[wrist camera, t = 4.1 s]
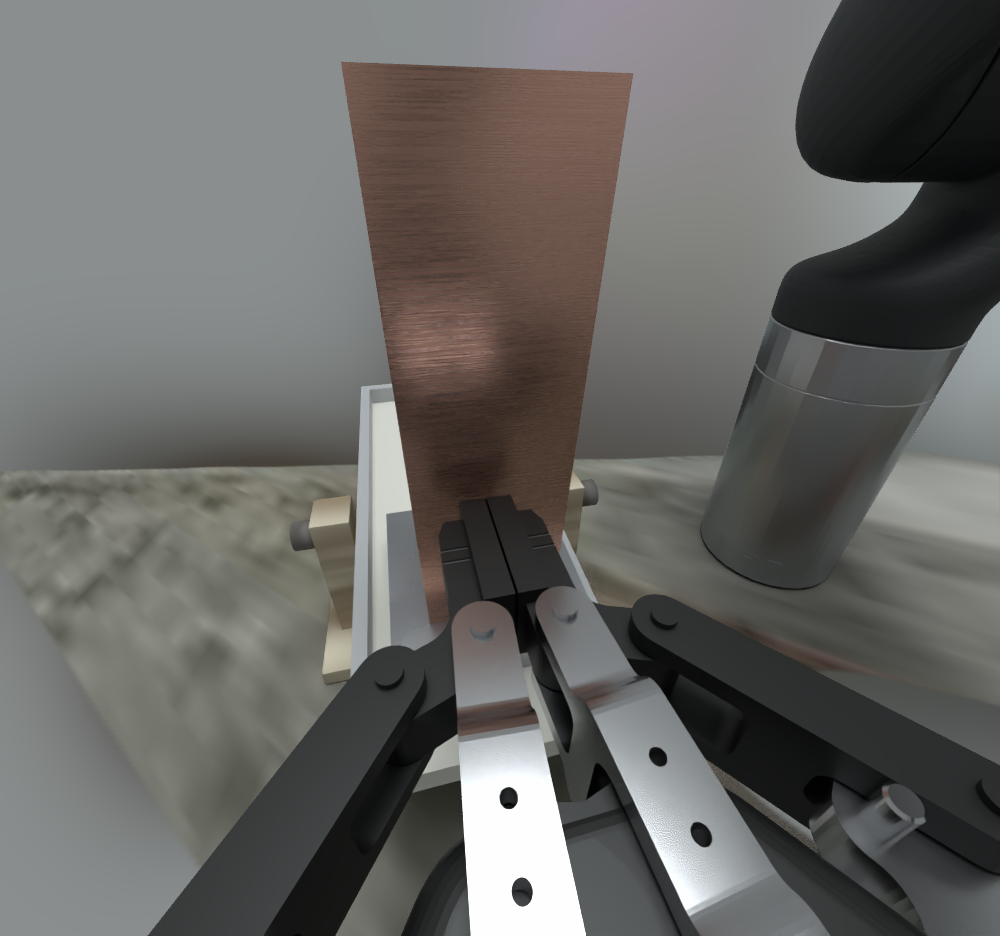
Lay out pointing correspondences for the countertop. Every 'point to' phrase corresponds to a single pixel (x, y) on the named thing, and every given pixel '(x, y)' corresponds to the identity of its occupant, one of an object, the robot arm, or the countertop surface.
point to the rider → (483, 289)
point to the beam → (371, 609)
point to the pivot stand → (336, 554)
